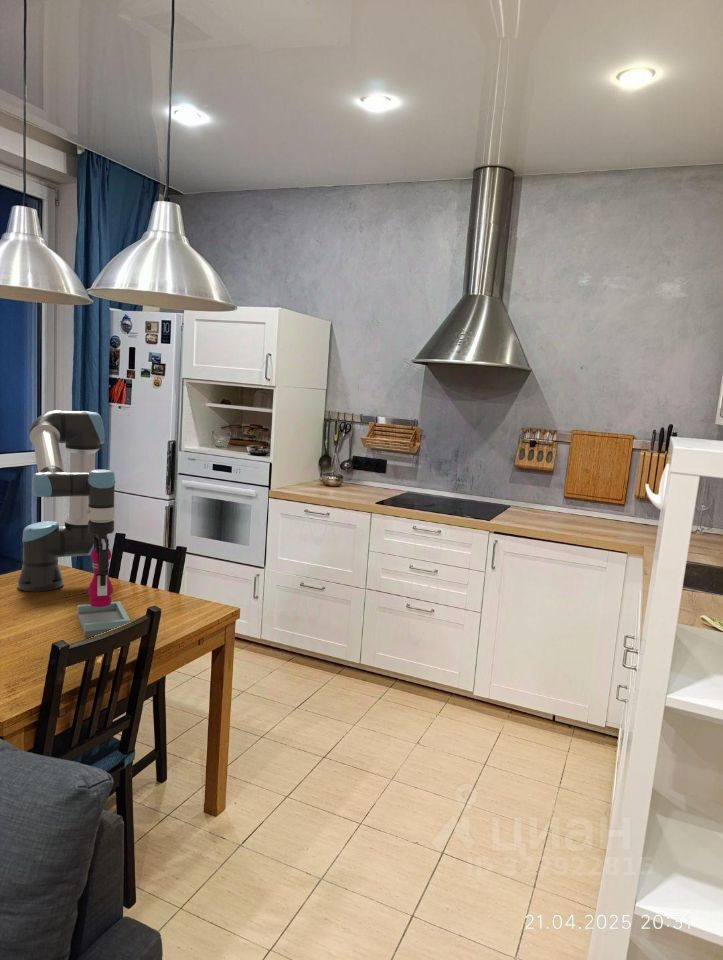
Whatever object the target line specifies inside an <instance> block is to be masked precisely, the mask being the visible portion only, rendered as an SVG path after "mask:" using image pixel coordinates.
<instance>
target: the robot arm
mask: <svg viewBox="0 0 723 960" xmlns="http://www.w3.org/2000/svg"><path fill="white" fill-rule="evenodd" d="M28 434H29V441H30V442H31V445H33V446H34V447H33V448H34V453H35V454H34V455H35V462H36V469H37V472H35V473H33V474H32V483H31V484H32V486H31V487H32V494H33V496H34V497H36V498H39V497H40V498H56V497H57V498H59V497H60V498H63V497H69V504H68V505H69V508H68V509H69V510H68V512H69V513H68V514H69V515H68V516H67V518H65V520H64V525H59V522H58V521H55V520H53V521H50V520H49V521H48V520H47V521H39V522H34V523H31V524H29V525H26V526H25V527H24V528H23V531H22V538H21V539H22V540H21V541H22V568H21V571H20V573H19V576H18V579H17V588H18V590H20V591H25V592H32V593H33V592H34V593H35V592H47V591H52V590H57V589H59V588H61V587H62V586H64V577H63V574H62V571H61V569H60V566H59V558H62V557H63V558H66V557H82V556H84V557H86V556H87V557H88V556H91V552H92V550H93V549H94V548H96V553H97V554H98V574H96V576H98V586H97V596H103V595H107V575H108V576H109V574H110V573H109V567H108V549H109V546H110V543H109V541H110V540H109V538H108V537H107V535H109V534H112V533H114V531H115V521H114V519H115V512H116V511H115V508H116V507H115V494H116V493H115V488H116V487H115V485H116V479H115V478H116V477H115V476H116V475H115V472H114V471H113V470H109V469H96V453H97V452H98V451H99V450H100V449H101V448H100V446H101V445H102V444H104V443H105V440H106V439H105V437H106V436H105V428H104V422H103V419H102V416H101V415H100V414H99V413H98V412H95V411H94V412H93V411H87V410H86V411H85V410H81V411H80V410H79V411H78V410H59V409H58V410H57V409H56V410H50V411H47V412H45V413H43V414H40V416H38V417H37V418H36V419H35V420H34V421H33V422H32V423H31V425H30V428H29V431H28ZM60 444H65V446H64V447H65V449H66V450H67V451H68V452H69V472H65V470H64V465H63V459H62V455H61V449H60V446H59V445H60ZM93 562H94V561H93V560H92V563H93Z"/></svg>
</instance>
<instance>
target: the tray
mask: <svg viewBox="0 0 723 960" xmlns="http://www.w3.org/2000/svg"><path fill="white" fill-rule="evenodd" d="M77 619H79V620H78V621H79V625H80V628H81V630H83V631H82V633H84V634H83V636H85V637H84V639H86V638H93V637H92V636H95V635H98V634H101V633H104V632H107V631H109V630H111V629H114V628H117V627H119V626H122V625H124V624H127V623H129V622H130V623H131V619H130V617H129V615H128V614H127V611H126V610H125V608H124V607H123V604H122V602H121V601H120V600H119V601H111V604H110V605H108V606H104V607H94V606H91V605H90V603H89V604H88V603H87V604H78V605H77Z"/></svg>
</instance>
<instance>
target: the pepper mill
mask: <svg viewBox="0 0 723 960" xmlns="http://www.w3.org/2000/svg"><path fill="white" fill-rule="evenodd" d="M90 559H91V560H92V563H91V564H92V568H93V577H92V580H91V581H90V583H89V585H88V591H87V592H88V593H87V594H88V595H89V596H90V598H89V604H90V605H91V606H94V607H104V606H108V605H110V604H111V602H112V597H111V595H112V594H113V591H114V587H113V584H112V582H111V580H110V577H109V574H108V575H107V595H103V596H97V586H98V576H96V574H98V554H97V553H96V548H94V549H93V550H92V552H91V555H90ZM110 559H112V552H111V549H110V548H108V568H109V567H110ZM93 561H94V562H93Z"/></svg>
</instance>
